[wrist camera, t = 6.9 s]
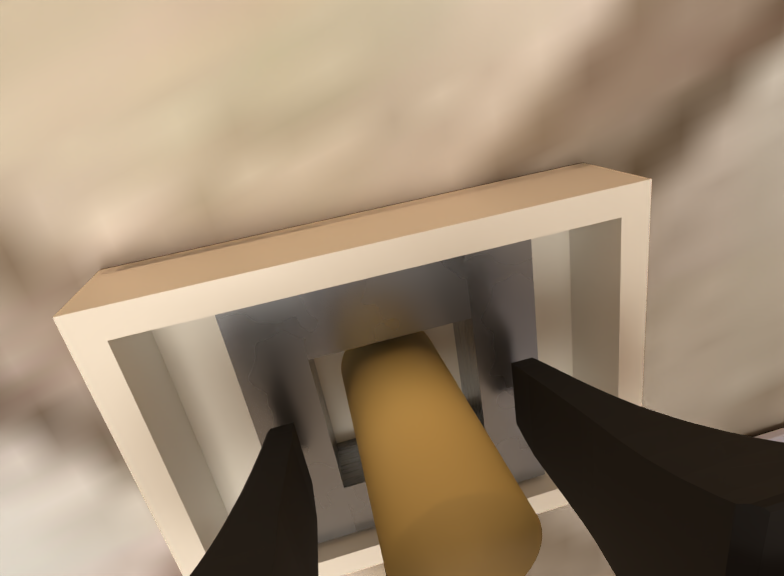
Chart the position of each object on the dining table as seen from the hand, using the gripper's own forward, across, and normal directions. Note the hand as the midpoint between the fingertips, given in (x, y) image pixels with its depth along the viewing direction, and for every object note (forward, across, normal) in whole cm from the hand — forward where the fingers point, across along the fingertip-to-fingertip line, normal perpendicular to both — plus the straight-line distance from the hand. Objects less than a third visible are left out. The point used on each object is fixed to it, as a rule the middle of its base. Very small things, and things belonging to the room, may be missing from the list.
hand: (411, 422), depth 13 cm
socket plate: (+3, 0, 0) cm, 3 cm away
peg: (+3, 0, 0) cm, 3 cm away
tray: (+3, 0, 0) cm, 3 cm away
